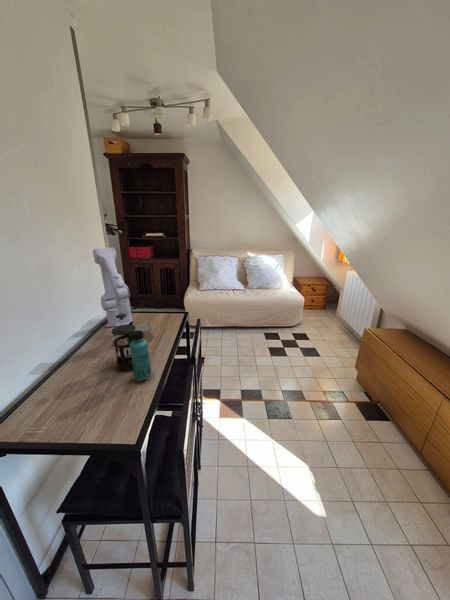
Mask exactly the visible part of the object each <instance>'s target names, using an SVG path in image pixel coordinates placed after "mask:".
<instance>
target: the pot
mask: <svg viewBox="0 0 450 600" xmlns="http://www.w3.org/2000/svg"><path fill="white" fill-rule="evenodd" d="M134 326H135V331H138V330H140V331H142V332H143V335H144V337H143V339H145V340H147V342H150V341H151V340H152V339H153V337H152V329H151V325H149V324H146V323H142V324H137V325H134Z"/></svg>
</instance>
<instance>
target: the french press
mask: <svg viewBox="0 0 450 600" xmlns="http://www.w3.org/2000/svg"><path fill="white" fill-rule="evenodd" d="M126 316H127V314H119V315H117V316H116V318H120V319H121V320H122V325H120V326H114V327H113V328H112V329H111V335H113V337H114V340H113V346H114V350H115V355H116V363H117V370H118V371H120V372H123V373H128V372H133V371H134V370H133V364H132V362H131V363H127V362H128V361H132V356H131V349H130V343H131V342H132V341H133V339H132V332H134V331H135V326H136V325H134V324H132V325H130V324H126V325H123V318H124V317H126ZM116 336H118V337H116ZM115 337H116V338H115ZM123 339H124V342H125V344H124V345H123V344H122V345H120V344H119V345H118V341H120V340H123ZM127 340H128V344H127Z"/></svg>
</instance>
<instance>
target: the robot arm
mask: <svg viewBox="0 0 450 600" xmlns="http://www.w3.org/2000/svg"><path fill="white" fill-rule="evenodd" d="M92 255H93V259H94V263H95V265H99V269H100V273H101V278H102V283H103V288H104V294H103V295H102V296H100V304H101V308H102V310H103V311H105V314H106V319H107V324H106V325H105V327H106V328H109V327H111V328H112V327H117V326H120V325H122V320H121V319H120V318H116V316H117V315H119V314H127V316H126V317H124V318H123V325H126V324H130V325H134V321H133V316H132V315H133V314H132V310H131V303H130V302H131V301H130V298H131V291H130V289H129V287H128V285H127V284H126V283H125V282H124V279H123V276H122V274H120V273H118V269H117V265H116V263H115V262H116V261H117V258H118V257H117V250H116V248H115V247H113V246H111V247H103V248H94V249H93V250H92Z"/></svg>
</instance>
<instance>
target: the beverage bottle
mask: <svg viewBox="0 0 450 600" xmlns="http://www.w3.org/2000/svg"><path fill="white" fill-rule="evenodd" d="M143 337H144V335H143V332H142V331H140V330H138V331H134V332H132V339H133V341H132V342H131V343H130V349H131V356H132V360H131V363H132V364H133V371H132V372H133V376H134V378H135V380H137V381H144V380H147V379H149V378H150V377H151V375H152V366H151V360H150V358H151V357H150V352H149V345H148V342H149V341H148V342H147V340H145V339H143Z"/></svg>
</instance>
